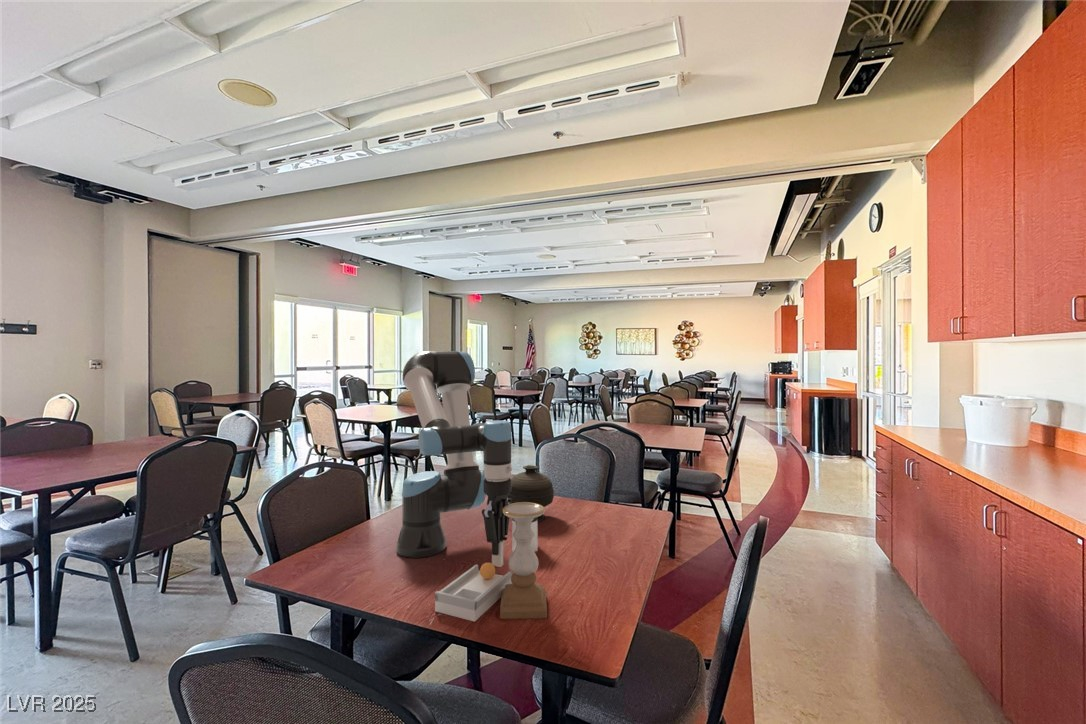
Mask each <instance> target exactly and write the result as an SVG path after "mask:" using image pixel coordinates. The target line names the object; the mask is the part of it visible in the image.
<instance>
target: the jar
mask: <svg viewBox="0 0 1086 724" xmlns="http://www.w3.org/2000/svg"><path fill="white" fill-rule="evenodd" d="M537 519H538V517H536V518H534V520H533V521H532V522H531V529H532V531H533V532H534V537H533V538H532V540H531V543H530V545H531V547H532V549H533V551H534V553H536V552H538V538H539V537H538V535H539V534H538V533H539V532H538V522H537ZM511 521H512V524H511V525H512V526H511V528H512V529H511V531H512V532H511V535H512V536H511V539H512V542H511V544H512V545H511V548H512V549H511V550H512V551H511V552H512V553H513V552H514V550H515V548H516V545H517V542H516V540H515V538H514V537H513V533H514V532H515V530H516V523H515V521H514V520H513V518H511Z"/></svg>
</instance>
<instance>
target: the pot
mask: <svg viewBox="0 0 1086 724" xmlns="http://www.w3.org/2000/svg"><path fill="white" fill-rule="evenodd" d="M522 468H523V469H524V470H525V471H522V472H519V473H517V474H515V475H514V476H513V477H511V478H510V479H511V492H510V493H509V494H507V495H508V498H510V499H512V503H518V502H531V503H537V504H540V505H542V506H543V507H544V508H545V507H547V506H549V505H551V504H552V503H553V502H554V501H553V500H554V497H555V495H554V493H555V490H554V487H553V483H552V481H551V479H550V478H549V477H548V476H547V475H546V474H544V473H542V472H538V471H537V470H539V466H538V465H532V464H528V465H523V466H522ZM512 503H511V504H512ZM544 519H545V515H544V513H543V514H542V515H541V516H539V517H538V519H537V522H541V521H543V520H544Z"/></svg>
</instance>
